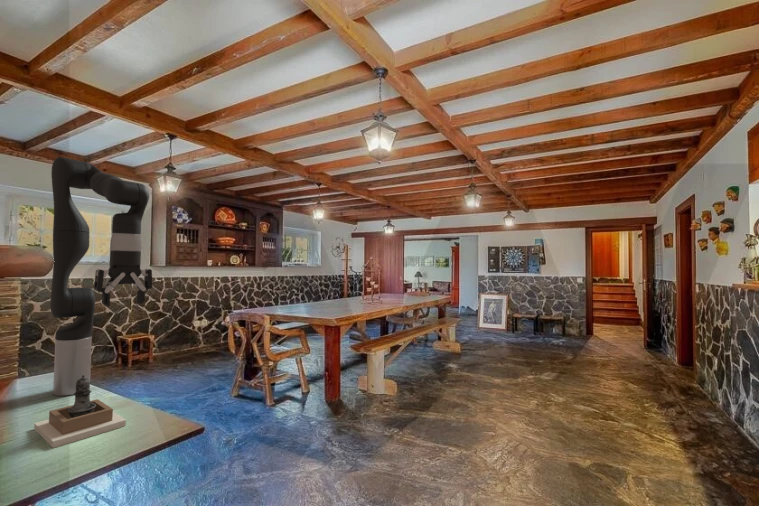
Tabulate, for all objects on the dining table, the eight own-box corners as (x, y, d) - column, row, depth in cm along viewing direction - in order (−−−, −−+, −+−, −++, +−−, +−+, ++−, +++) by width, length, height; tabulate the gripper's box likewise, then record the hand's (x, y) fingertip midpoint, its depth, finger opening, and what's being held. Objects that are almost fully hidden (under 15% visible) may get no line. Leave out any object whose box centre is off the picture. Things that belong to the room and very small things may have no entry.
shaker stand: (34, 429, 96) (34, 411, 96) (103, 410, 108) (104, 394, 108) (52, 448, 87) (53, 428, 88) (125, 425, 100) (126, 408, 100)
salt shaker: (62, 422, 97) (63, 375, 97) (88, 414, 102) (90, 370, 102) (74, 428, 94) (75, 380, 94) (100, 419, 99) (102, 373, 99)
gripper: (146, 250, 119) (144, 301, 119) (91, 248, 107) (89, 305, 107) (157, 250, 114) (155, 304, 114) (102, 248, 103) (99, 308, 103)
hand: (123, 304), depth 111 cm, fingers open, 8 cm apart
